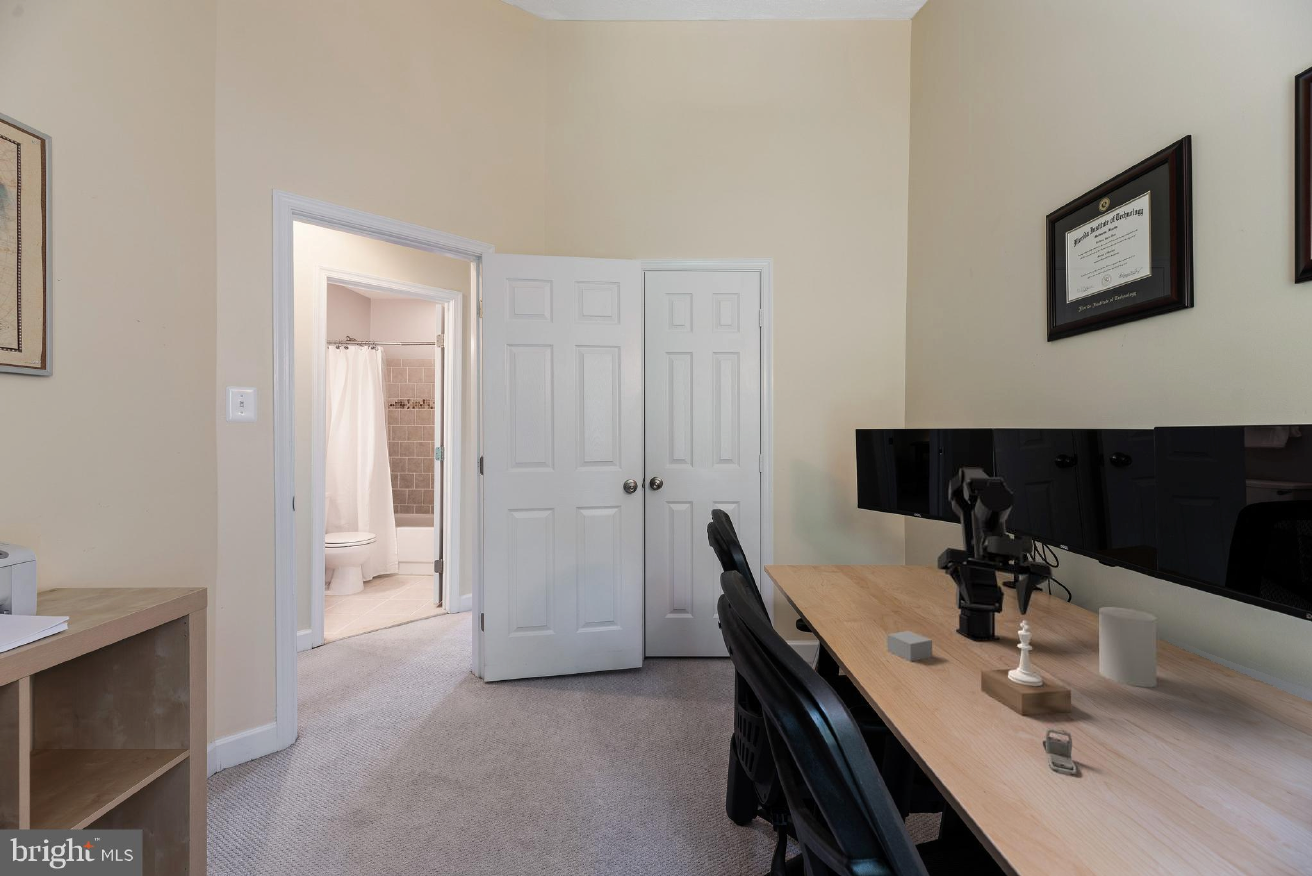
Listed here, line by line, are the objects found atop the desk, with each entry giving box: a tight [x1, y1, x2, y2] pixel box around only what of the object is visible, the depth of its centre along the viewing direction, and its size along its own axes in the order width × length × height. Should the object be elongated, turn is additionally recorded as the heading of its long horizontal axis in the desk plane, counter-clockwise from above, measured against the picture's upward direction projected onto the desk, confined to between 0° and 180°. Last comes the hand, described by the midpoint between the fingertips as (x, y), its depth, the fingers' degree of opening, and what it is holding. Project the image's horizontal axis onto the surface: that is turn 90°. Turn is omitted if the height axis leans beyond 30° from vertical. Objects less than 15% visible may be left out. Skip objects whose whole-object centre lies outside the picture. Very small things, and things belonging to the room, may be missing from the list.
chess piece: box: [1008, 620, 1043, 686], centre depth 94 cm, size 5×5×10 cm
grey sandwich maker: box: [1042, 727, 1078, 777], centre depth 76 cm, size 8×3×4 cm, turn 152°
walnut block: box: [980, 668, 1072, 716], centre depth 94 cm, size 9×9×4 cm
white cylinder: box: [1098, 606, 1157, 688], centre depth 103 cm, size 8×8×12 cm
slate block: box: [886, 630, 933, 662], centre depth 114 cm, size 6×6×4 cm
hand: (996, 609), depth 104 cm, fingers open, 9 cm apart
